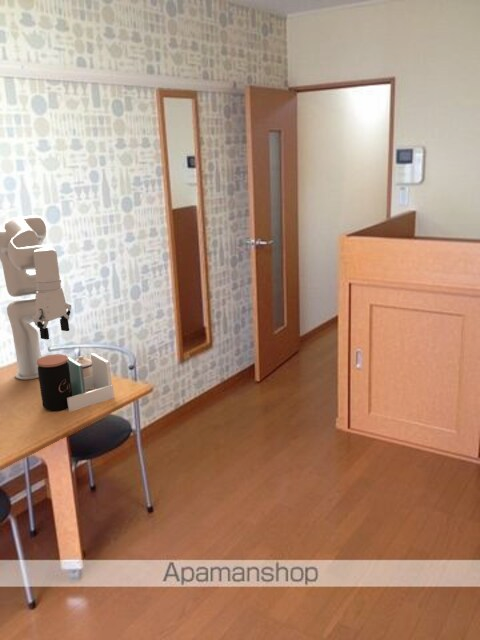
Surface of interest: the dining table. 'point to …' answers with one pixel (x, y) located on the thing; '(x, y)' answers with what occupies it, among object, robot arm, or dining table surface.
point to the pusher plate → (76, 377)
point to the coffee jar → (54, 382)
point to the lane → (94, 385)
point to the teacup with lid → (85, 366)
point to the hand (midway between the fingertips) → (55, 334)
